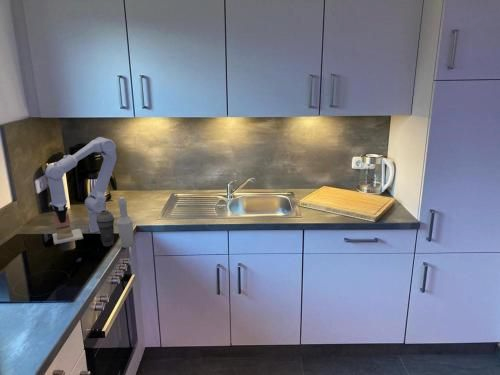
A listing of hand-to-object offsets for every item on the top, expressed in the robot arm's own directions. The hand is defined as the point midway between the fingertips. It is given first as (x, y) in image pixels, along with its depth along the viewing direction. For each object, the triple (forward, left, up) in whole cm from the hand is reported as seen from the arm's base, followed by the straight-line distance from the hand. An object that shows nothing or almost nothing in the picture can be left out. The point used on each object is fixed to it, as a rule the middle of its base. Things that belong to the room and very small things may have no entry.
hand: (62, 220), depth 184 cm
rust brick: (0, 0, -2) cm, 2 cm away
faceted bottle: (-23, +23, -9) cm, 34 cm away
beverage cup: (-16, +17, -9) cm, 25 cm away
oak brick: (0, 0, -8) cm, 8 cm away
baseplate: (-1, -1, -9) cm, 9 cm away
